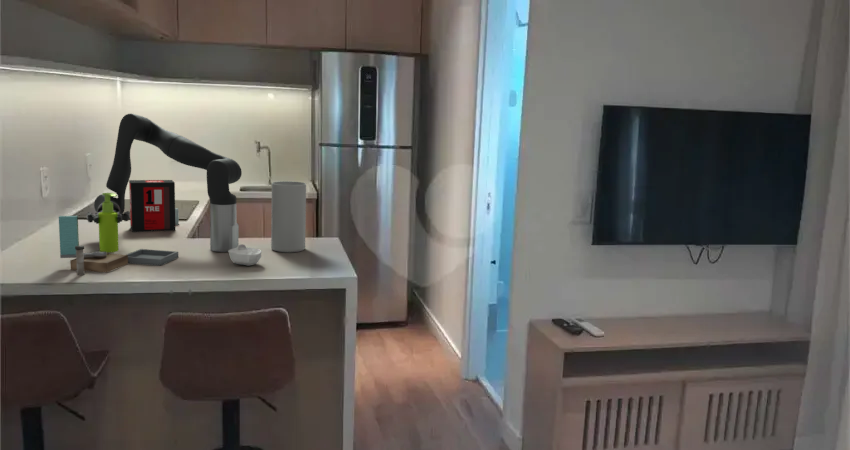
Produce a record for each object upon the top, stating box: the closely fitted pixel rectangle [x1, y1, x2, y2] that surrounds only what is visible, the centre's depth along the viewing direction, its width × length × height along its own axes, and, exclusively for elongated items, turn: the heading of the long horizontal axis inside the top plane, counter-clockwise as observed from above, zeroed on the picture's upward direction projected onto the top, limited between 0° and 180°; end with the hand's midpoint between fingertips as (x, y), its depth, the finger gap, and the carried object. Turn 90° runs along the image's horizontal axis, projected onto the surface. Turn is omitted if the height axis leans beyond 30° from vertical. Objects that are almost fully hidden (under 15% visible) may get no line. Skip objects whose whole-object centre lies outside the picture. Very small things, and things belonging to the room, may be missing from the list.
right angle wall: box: [175, 207, 180, 226], centre depth 297 cm, size 12×12×8 cm
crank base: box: [69, 245, 129, 276], centre depth 213 cm, size 12×18×9 cm
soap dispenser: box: [98, 192, 119, 254], centre depth 229 cm, size 6×7×20 cm
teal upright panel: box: [58, 215, 108, 259], centre depth 213 cm, size 13×4×13 cm, turn 108°
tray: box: [125, 248, 179, 267], centre depth 228 cm, size 14×13×2 cm
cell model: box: [228, 243, 262, 267], centre depth 227 cm, size 10×12×7 cm
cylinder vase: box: [270, 180, 307, 253], centre depth 252 cm, size 12×12×25 cm
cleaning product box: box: [128, 179, 176, 233], centre depth 279 cm, size 16×9×20 cm, turn 117°
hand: (108, 220), depth 227 cm, fingers closed on soap dispenser, 6 cm apart
